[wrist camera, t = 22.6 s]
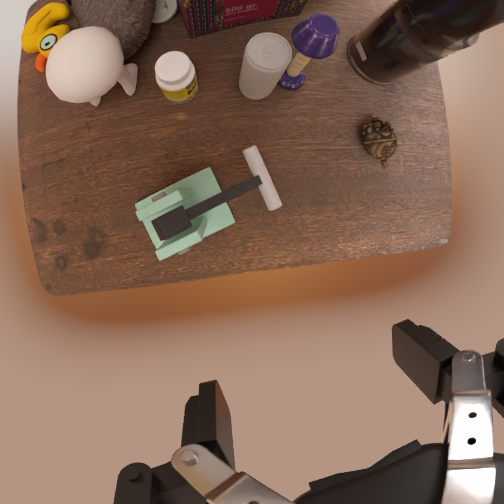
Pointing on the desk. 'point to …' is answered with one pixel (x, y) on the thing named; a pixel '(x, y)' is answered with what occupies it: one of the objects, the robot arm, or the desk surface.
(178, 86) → the supplement bottle
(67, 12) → the duckling
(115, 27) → the decorative stone
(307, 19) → the toy lamp
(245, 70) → the beverage can
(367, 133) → the pendant
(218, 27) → the box
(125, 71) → the toy character
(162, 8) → the round green tin
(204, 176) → the green stand
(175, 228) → the lever
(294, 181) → the desk surface
